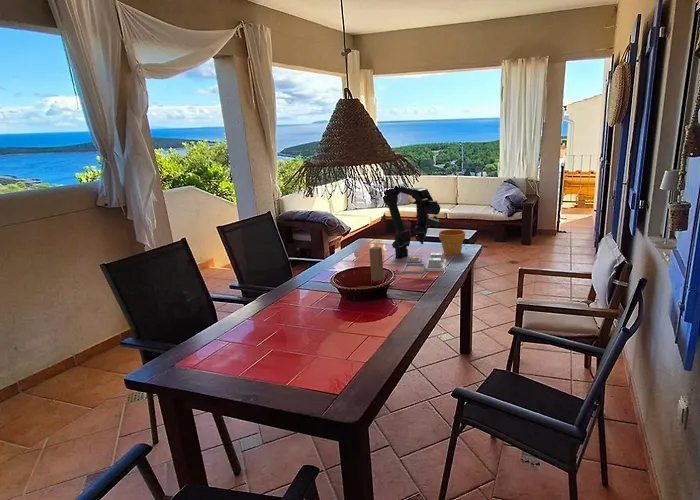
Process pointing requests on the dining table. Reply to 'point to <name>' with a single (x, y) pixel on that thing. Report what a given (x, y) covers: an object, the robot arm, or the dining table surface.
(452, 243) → the flower pot
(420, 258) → the grey square frame
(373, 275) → the wooden block
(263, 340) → the dining table surface
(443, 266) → the white divided tray
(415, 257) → the button
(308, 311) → the dining table surface
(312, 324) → the dining table surface
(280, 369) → the dining table surface
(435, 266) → the billet
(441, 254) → the block
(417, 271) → the tray
